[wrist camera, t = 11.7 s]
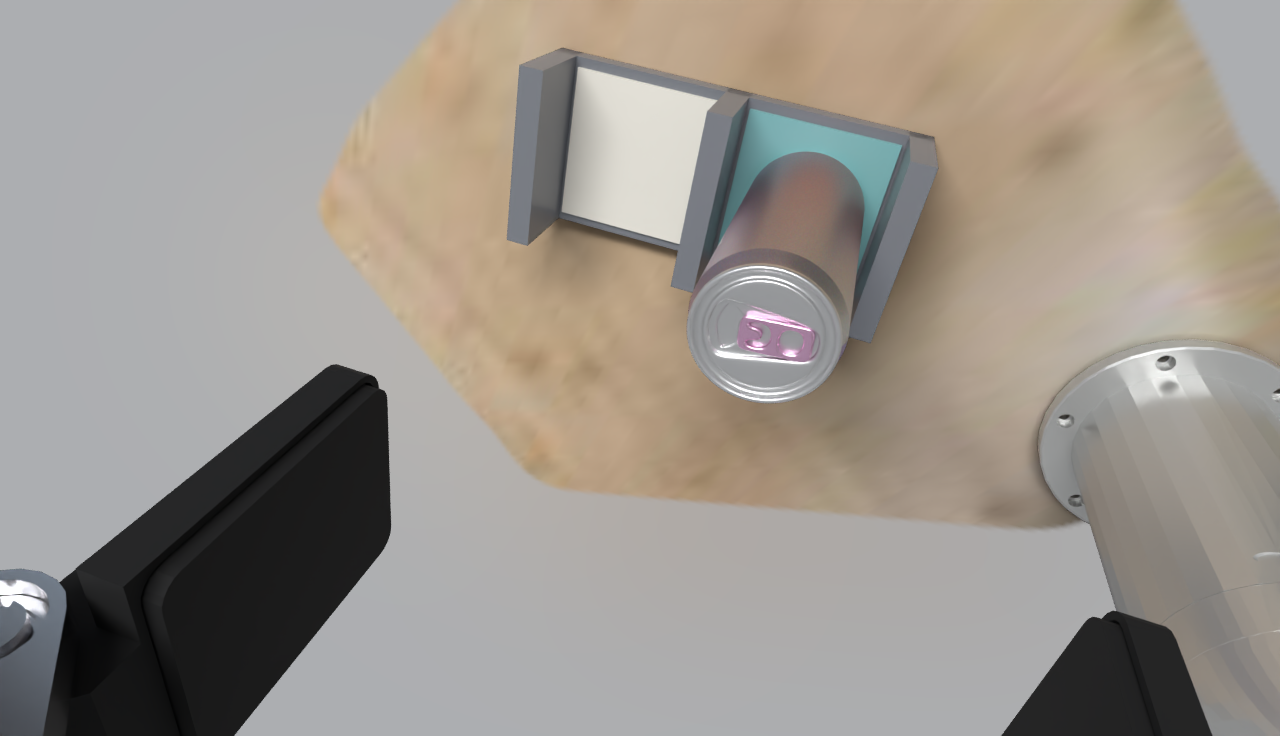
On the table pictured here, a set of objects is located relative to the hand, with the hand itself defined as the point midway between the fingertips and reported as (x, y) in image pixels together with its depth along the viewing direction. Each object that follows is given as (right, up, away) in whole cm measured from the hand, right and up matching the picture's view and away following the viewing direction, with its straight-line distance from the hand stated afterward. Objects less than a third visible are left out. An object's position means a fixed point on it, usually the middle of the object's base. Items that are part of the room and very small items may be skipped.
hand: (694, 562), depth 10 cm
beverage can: (+8, +11, +30) cm, 33 cm away
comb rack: (+4, +13, +31) cm, 34 cm away
